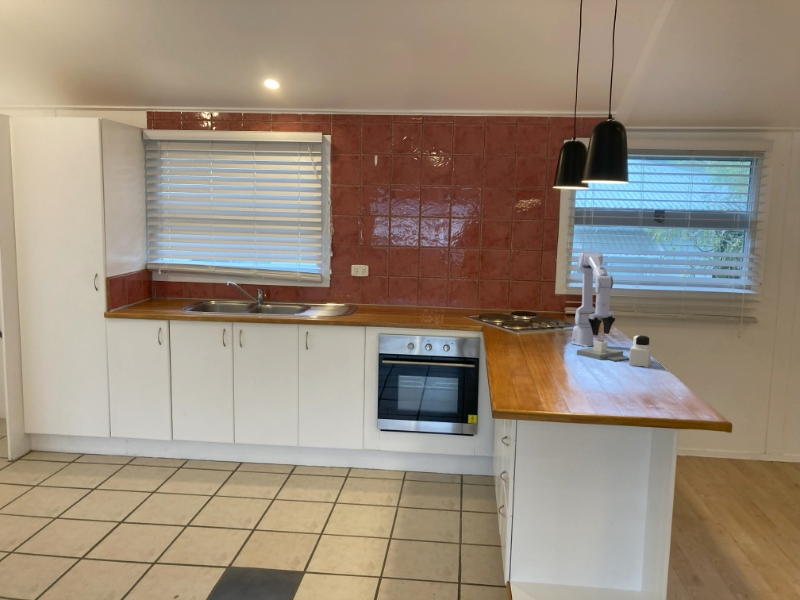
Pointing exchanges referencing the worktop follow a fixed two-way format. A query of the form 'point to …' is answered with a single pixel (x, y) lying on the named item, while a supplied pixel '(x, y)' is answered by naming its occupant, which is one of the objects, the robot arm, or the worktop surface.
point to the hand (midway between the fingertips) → (600, 334)
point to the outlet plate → (597, 355)
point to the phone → (617, 358)
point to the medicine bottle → (640, 351)
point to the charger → (600, 346)
